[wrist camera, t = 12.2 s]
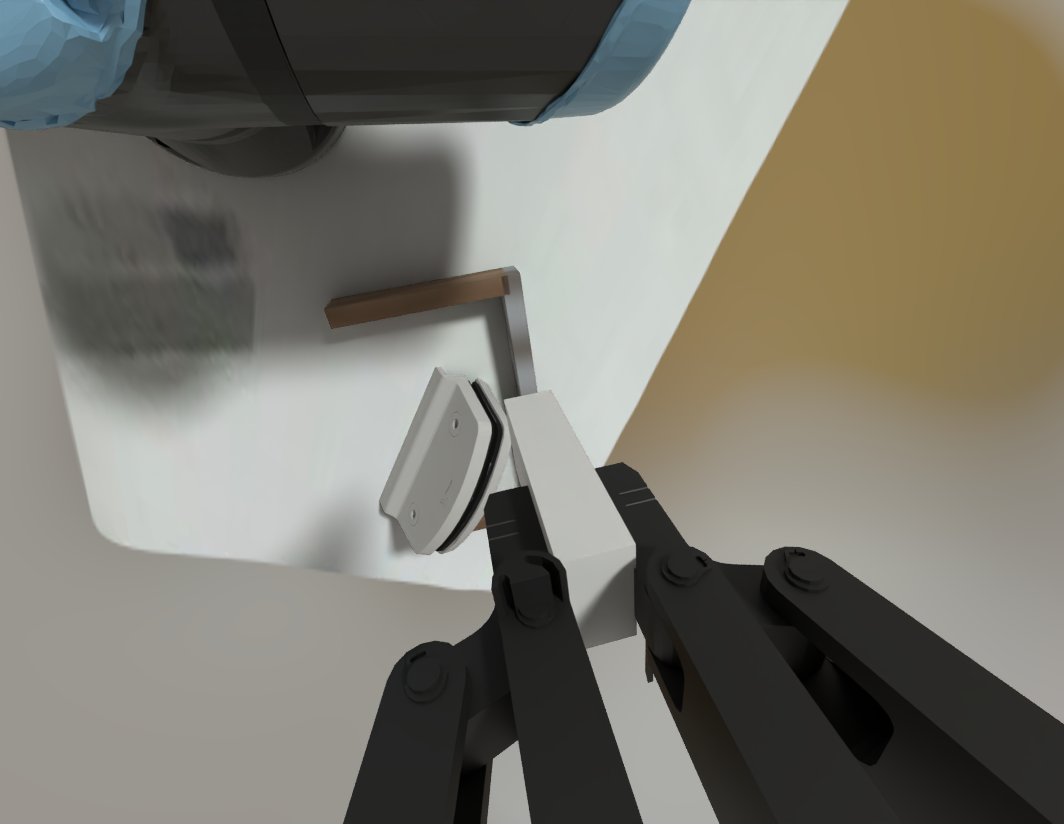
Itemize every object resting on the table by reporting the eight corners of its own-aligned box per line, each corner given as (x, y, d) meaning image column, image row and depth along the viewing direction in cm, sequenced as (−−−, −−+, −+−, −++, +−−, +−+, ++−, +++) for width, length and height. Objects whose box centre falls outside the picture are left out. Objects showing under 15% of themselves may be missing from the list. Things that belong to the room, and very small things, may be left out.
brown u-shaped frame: (331, 299, 36) (324, 309, 33) (513, 265, 37) (519, 273, 35) (414, 525, 48) (414, 546, 46) (548, 493, 50) (555, 510, 47)
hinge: (437, 362, 40) (482, 425, 33) (481, 372, 43) (531, 432, 36) (378, 502, 46) (406, 580, 39) (420, 502, 49) (453, 575, 42)
